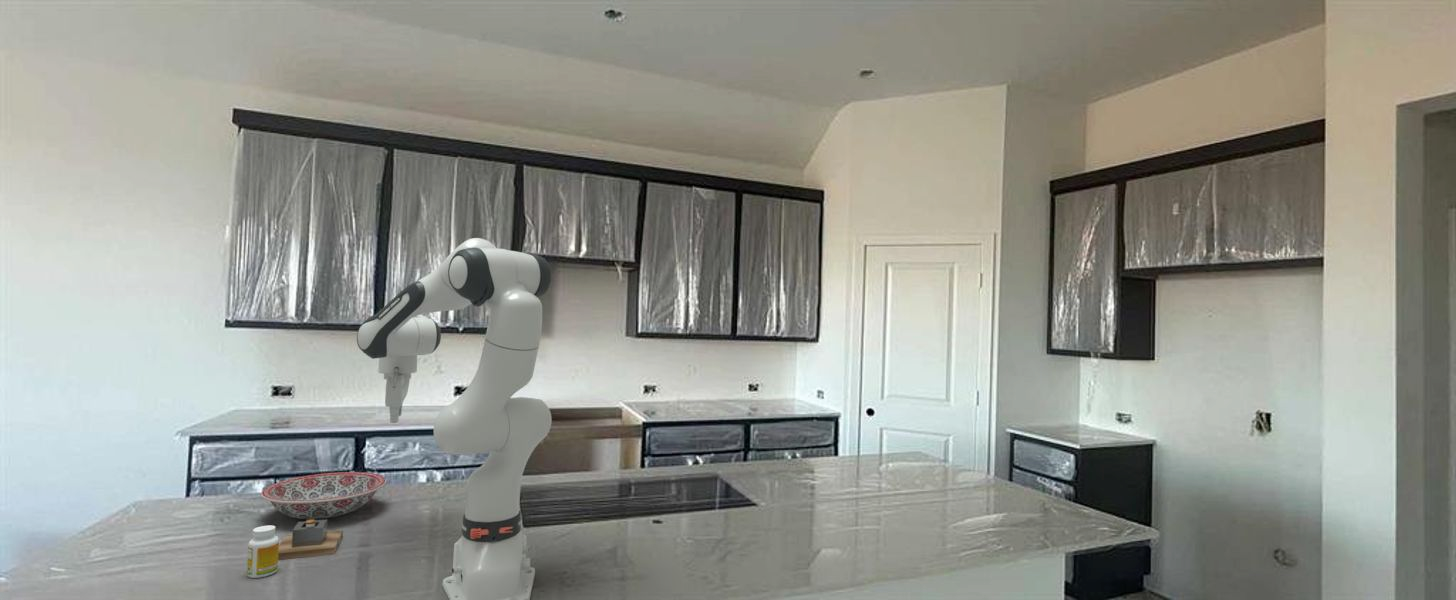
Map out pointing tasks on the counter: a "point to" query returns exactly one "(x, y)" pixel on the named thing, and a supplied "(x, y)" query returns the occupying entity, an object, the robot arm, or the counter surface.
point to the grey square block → (309, 534)
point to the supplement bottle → (263, 552)
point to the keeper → (315, 550)
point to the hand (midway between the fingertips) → (395, 419)
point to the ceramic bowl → (323, 494)
